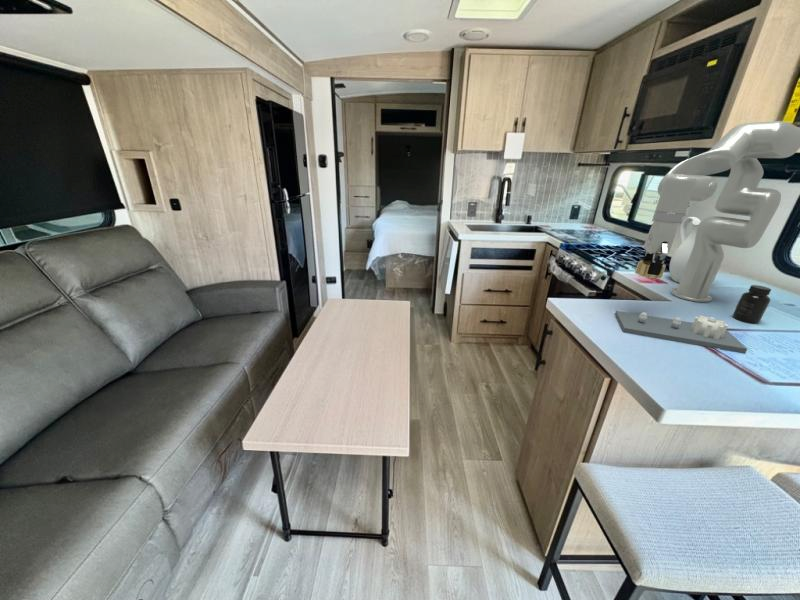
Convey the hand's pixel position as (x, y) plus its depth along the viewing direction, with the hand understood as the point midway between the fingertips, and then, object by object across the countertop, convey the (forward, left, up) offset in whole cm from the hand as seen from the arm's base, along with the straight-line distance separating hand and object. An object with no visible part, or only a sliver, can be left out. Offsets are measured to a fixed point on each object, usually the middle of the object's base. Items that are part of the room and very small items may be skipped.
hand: (649, 270), depth 110 cm
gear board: (+12, +8, -16) cm, 21 cm away
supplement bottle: (-10, +35, -16) cm, 40 cm away
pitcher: (-54, +30, -16) cm, 63 cm away
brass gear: (0, 0, -1) cm, 1 cm away
